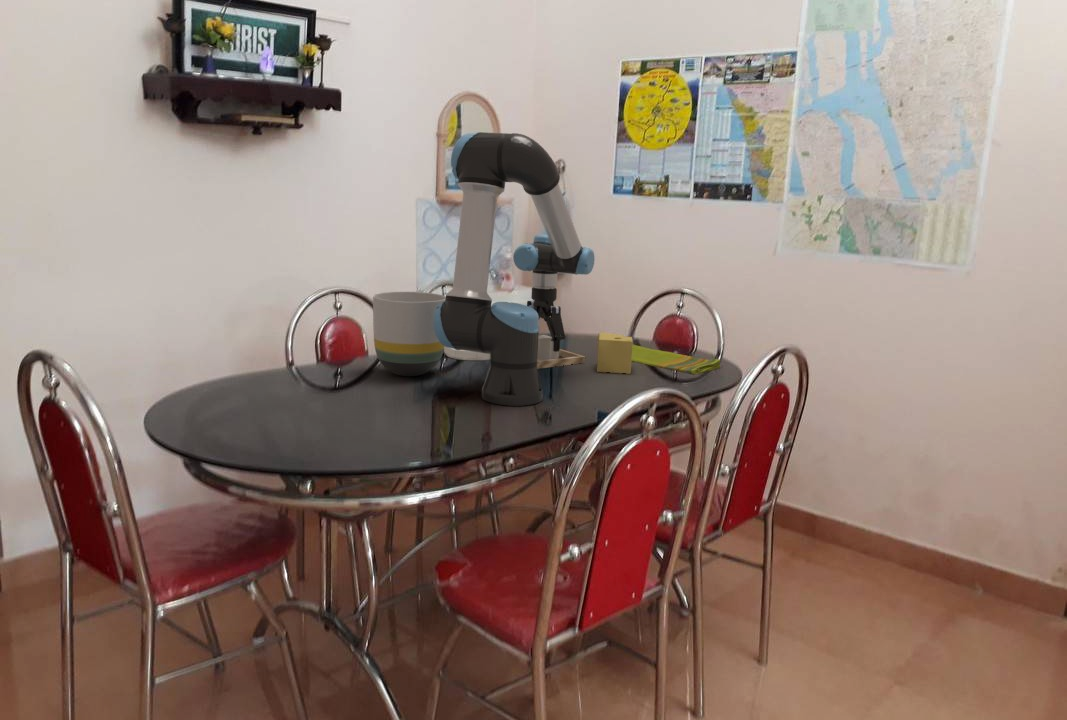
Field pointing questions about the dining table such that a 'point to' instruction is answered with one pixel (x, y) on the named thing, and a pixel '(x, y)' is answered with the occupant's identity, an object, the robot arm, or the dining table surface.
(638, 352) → the dish towel
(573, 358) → the wooden frame
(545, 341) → the pale grey block
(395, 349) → the planter
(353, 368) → the dining table surface
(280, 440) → the dining table surface
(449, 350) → the bowl
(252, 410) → the dining table surface
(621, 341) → the cheese
